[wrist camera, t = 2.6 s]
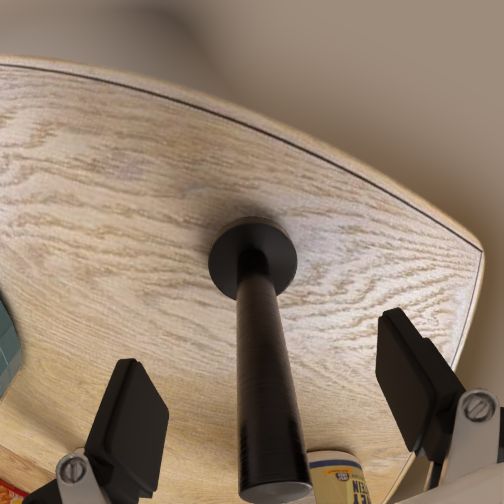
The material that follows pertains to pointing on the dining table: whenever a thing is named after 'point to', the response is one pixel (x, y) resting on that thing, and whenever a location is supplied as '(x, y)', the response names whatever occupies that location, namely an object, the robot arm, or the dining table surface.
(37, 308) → the dining table surface
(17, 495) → the pasta box
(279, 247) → the black post stand
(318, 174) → the dining table surface
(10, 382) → the bowl
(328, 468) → the supplement tub
